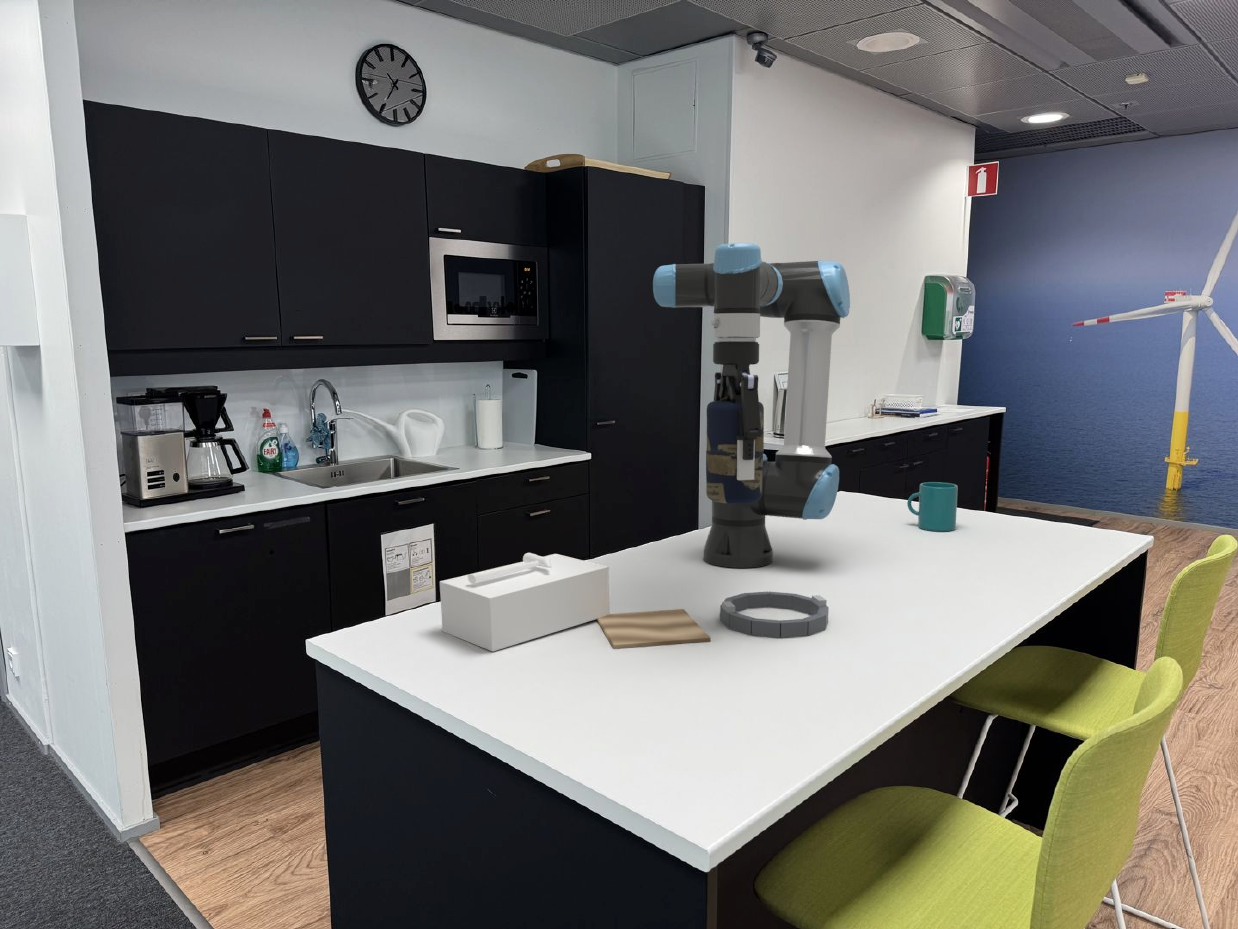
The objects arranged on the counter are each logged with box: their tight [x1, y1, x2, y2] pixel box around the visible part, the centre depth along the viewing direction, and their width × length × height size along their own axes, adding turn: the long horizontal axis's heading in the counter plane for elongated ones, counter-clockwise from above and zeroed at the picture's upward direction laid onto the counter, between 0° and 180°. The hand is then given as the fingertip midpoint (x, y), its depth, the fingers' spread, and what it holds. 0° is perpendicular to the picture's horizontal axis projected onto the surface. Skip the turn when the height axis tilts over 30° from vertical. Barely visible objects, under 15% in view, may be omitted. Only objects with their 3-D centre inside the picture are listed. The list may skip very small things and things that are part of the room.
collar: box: [719, 591, 829, 639], centre depth 158 cm, size 18×18×4 cm
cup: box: [906, 481, 959, 533], centre depth 232 cm, size 9×12×11 cm
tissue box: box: [439, 552, 611, 652], centre depth 155 cm, size 14×25×11 cm, turn 133°
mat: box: [595, 608, 711, 649], centre depth 153 cm, size 16×16×1 cm
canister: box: [705, 397, 765, 504], centre depth 152 cm, size 10×10×18 cm
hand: (734, 475), depth 152 cm, fingers closed on canister, 9 cm apart
